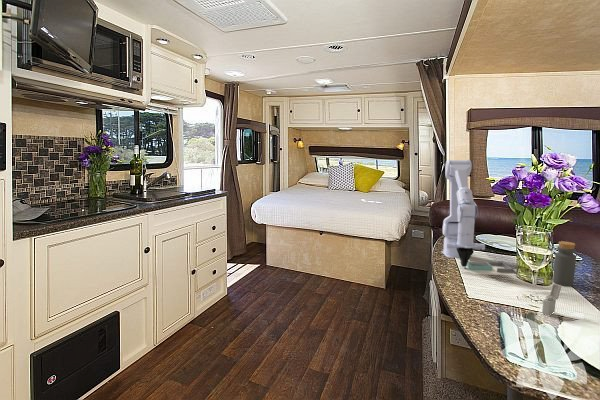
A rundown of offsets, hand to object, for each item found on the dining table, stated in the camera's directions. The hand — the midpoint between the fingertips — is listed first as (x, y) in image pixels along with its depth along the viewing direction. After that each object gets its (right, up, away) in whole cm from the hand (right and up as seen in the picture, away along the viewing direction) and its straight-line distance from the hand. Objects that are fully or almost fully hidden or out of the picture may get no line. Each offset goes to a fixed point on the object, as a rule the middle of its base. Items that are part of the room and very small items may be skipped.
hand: (463, 265), depth 134 cm
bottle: (+28, -3, -15) cm, 32 cm away
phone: (+6, -1, -1) cm, 6 cm away
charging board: (+9, -1, -1) cm, 9 cm away
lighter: (+7, -7, -37) cm, 38 cm away
